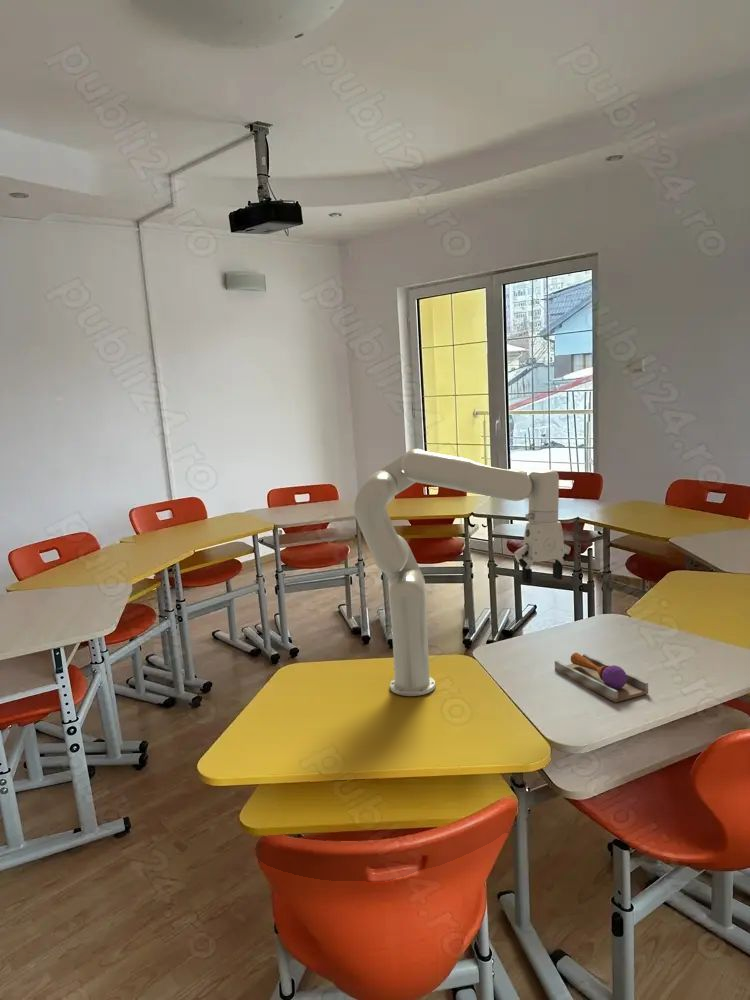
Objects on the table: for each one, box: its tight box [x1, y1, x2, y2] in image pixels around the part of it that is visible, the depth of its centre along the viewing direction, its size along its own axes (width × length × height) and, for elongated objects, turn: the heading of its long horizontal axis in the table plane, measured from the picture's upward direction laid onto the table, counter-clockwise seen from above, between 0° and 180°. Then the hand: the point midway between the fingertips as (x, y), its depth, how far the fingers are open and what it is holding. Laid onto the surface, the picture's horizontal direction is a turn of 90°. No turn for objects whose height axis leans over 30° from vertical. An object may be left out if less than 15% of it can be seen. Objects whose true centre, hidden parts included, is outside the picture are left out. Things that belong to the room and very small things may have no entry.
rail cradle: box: [554, 653, 649, 703], centre depth 179 cm, size 24×11×3 cm, turn 22°
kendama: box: [570, 652, 627, 689], centre depth 179 cm, size 6×6×20 cm
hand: (542, 580), depth 177 cm, fingers open, 9 cm apart
